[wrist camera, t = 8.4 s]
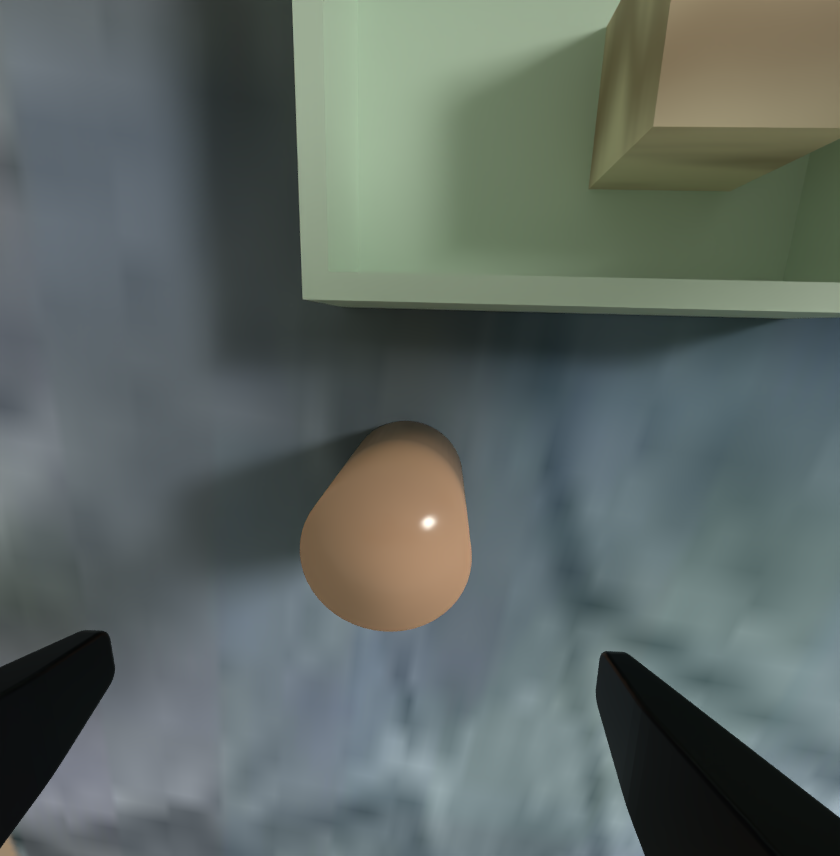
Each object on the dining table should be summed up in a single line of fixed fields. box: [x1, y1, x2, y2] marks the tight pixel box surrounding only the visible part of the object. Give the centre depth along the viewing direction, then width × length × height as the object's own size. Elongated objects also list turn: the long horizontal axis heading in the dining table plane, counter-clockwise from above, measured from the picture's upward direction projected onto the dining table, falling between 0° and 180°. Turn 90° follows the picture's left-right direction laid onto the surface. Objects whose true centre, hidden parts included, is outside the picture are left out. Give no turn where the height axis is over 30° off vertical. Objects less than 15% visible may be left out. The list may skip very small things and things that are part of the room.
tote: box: [292, 0, 840, 319], centre depth 13 cm, size 18×14×5 cm
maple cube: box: [589, 0, 840, 191], centre depth 12 cm, size 5×5×5 cm
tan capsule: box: [300, 421, 472, 631], centre depth 16 cm, size 5×5×7 cm
